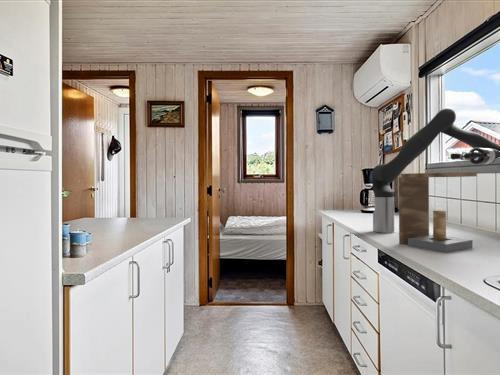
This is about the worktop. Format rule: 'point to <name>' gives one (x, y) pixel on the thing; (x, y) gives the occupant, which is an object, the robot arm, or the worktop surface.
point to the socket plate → (440, 243)
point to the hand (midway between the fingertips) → (460, 155)
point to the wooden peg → (439, 225)
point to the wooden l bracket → (417, 203)
